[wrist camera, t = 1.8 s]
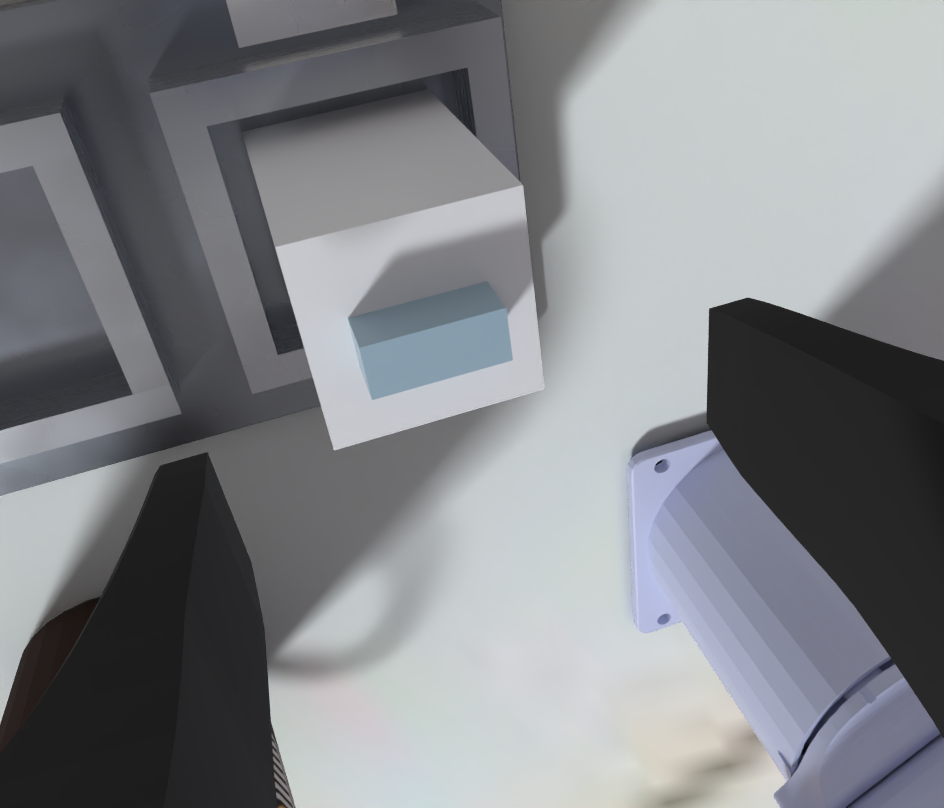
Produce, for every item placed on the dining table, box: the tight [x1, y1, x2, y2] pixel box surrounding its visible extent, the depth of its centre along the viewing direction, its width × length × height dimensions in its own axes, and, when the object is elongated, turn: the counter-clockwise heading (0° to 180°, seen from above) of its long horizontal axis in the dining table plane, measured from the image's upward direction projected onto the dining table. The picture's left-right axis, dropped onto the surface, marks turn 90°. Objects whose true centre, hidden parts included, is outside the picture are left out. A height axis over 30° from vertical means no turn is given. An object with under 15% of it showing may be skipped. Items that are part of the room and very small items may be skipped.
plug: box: [242, 89, 545, 450], centre depth 17 cm, size 4×4×7 cm
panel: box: [0, 0, 520, 496], centre depth 19 cm, size 16×10×2 cm, turn 96°
